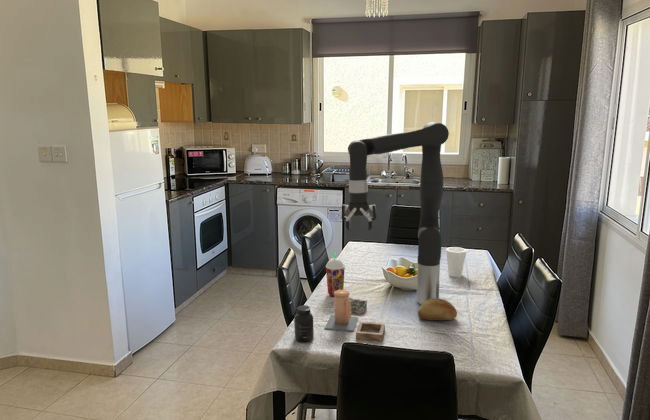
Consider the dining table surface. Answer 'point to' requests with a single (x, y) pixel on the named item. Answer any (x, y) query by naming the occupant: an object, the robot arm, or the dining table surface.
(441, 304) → the bread roll
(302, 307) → the supplement bottle
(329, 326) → the slate mat
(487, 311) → the dining table surface
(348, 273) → the dining table surface
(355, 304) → the egg carton
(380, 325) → the walnut collar
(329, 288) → the smoothie
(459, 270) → the foam cup
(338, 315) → the peach column
